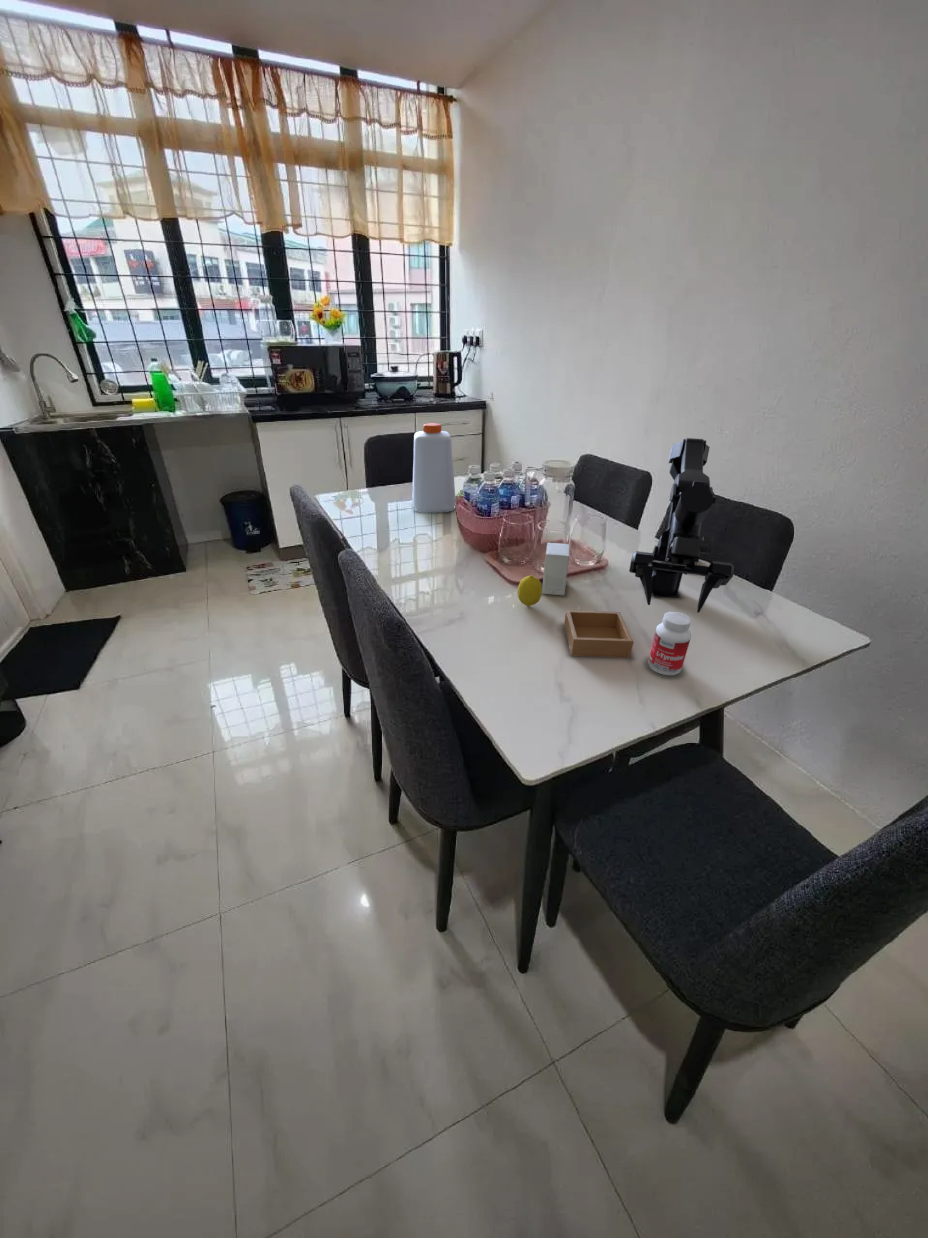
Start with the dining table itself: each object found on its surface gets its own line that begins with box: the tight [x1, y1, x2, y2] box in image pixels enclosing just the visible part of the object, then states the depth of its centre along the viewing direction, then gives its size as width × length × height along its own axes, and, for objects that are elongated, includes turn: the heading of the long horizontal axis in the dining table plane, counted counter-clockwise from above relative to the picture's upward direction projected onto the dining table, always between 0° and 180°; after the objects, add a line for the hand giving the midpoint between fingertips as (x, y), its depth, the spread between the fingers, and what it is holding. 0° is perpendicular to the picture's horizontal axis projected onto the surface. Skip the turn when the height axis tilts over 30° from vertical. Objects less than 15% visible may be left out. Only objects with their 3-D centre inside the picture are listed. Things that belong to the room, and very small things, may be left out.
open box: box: [563, 609, 635, 659], centre depth 104 cm, size 12×12×4 cm
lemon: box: [517, 574, 543, 608], centre depth 115 cm, size 6×6×8 cm
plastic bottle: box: [411, 422, 456, 514], centre depth 173 cm, size 15×15×28 cm
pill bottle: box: [647, 611, 692, 676], centre depth 94 cm, size 6×6×11 cm
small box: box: [542, 542, 571, 596], centre depth 123 cm, size 8×6×10 cm
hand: (673, 608), depth 99 cm, fingers open, 9 cm apart
